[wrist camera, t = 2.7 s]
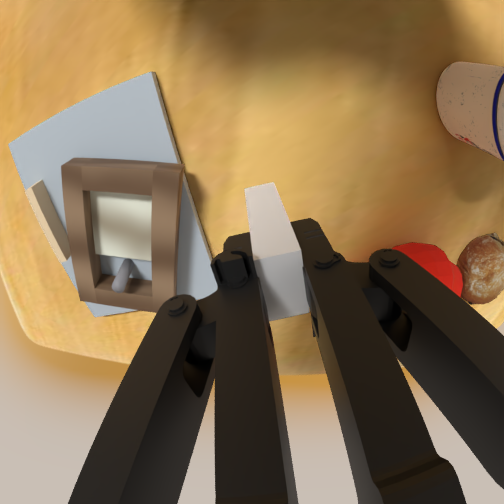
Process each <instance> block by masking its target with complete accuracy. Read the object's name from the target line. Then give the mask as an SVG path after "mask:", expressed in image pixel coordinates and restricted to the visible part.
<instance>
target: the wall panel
mask: <svg viewBox="0 0 504 504" xmlns="http://www.w3.org/2000/svg"><path fill="white" fill-rule="evenodd" d="M8 145H9V148H10V151H11V154H12V156H13V159H14V162H15V165H16V167H17V170H18V173H19V175H20V178H21V180H22V183H23V185H24V188H25V193H26V195H27V198H28V200H29V202H30V205H31V207H32V209H33V211H34V213H35V216H36V218H37V220H38V222H39V224H40V226H41V228H42V230H43V232H44V234H45V236H46V238H47V240H48V242H49V244H50V246H51V248H52V249H53V251H54V253H55V255H56V257H57V259H58V260H59V262H60V263H61V264H62V265H63V267H64V269H65V271H66V272H67V274H68V276H69V277H70V279H71V281H72V282H73V284H74V286H75V287H76V289H77V291H78V288H77V284H76V279H75V274H74V269H73V264H72V259H71V253H70V247H69V241H68V234H67V227H66V220H65V211H64V202H63V191H62V177H61V165H63V164H65V163H66V162H68V161H69V160H71V159H72V158H105V159H125V160H140V161H154V162H166V163H177V164H181V161H180V157H179V154H178V151H177V148H176V144H175V141H174V137H173V134H172V131H171V127H170V124H169V121H168V117H167V114H166V110H165V107H164V103H163V100H162V96H161V92H160V89H159V85H158V81H157V78H156V74H155V72H149V73H146V74H143V75H140V76H138V77H135V78H133V79H130V80H128V81H125V82H123V83H120V84H118V85H115V86H113V87H111V88H108V89H106V90H104V91H102V92H99V93H97V94H95V95H93V96H91V97H89V98H87V99H85V100H83V101H81V102H79V103H77V104H75V105H73V106H71V107H69V108H67V109H65V110H63V111H61V112H60V113H58V114H56V115H54V116H52V117H51V118H49V119H47V120H46V121H44V122H42V123H40V124H39V125H37V126H35V127H34V128H32V129H31V130H29V131H27V132H26V133H24V134H23V135H21V136H20V137H18V138H17V139H15V140H14V141H12V142H11V143H9V144H8ZM212 260H213V259H212V256H211V253H210V250H209V247H208V244H207V241H206V238H205V235H204V232H203V229H202V226H201V223H200V220H199V217H198V214H197V211H196V208H195V205H194V202H193V199H192V196H191V193H190V189H189V186H188V183H187V180H186V177H185V174H183V185H182V197H181V210H180V225H179V243H178V265H177V295H181V294H188V295H191V296H193V297H195V299H196V300H198V299H202V298H205V297H207V296H209V295H211V294H212V293H214V292H215V291H216V290H217V283H216V280H215V277H214V274H213V272H212V269H211V266H210V264H211V261H212ZM100 262H101V270H102V274H107V275H114V276H116V277H115V279H114V281H113V284H112V289H113V290H114V291H115V292H117V293H122V292H123V291H124V289H125V286H126V284H127V281H128V279H129V278H137V279H144V280H152V265H151V261H148V260H140V259H131V258H123V257H116V256H108V255H100ZM84 302H85V301H84ZM85 303H86V305H87V306H88V308H89V309H90V311H91V312H92V314H93V315H94V317H99V316H106V315H112V314H118V313H124V312H130V311H136V310H134V309H127V308H121V307H114V306H108V305H102V304H96V303H90V302H85Z"/></svg>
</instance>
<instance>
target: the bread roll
mask: <svg viewBox="0 0 504 504" xmlns="http://www.w3.org/2000/svg"><path fill="white" fill-rule="evenodd" d="M456 266H457V267H458V268H459V270H460V272H461V274H462V282H463V287H462V292H461V297H462V298H463V299H465V300H466V301H468V303H469V304H471V305H472V304H485V303H489V302H491V301H492V300H494V299H495V298H496V297H497V296H498V295H499V294H500V293H501V291H502V290H503V289H504V242H503V241H502V240H500V239H499V237H498V235H497V234H496V233H493V234H488V235H484V236H481V237H477V238H475V239H474V240H472V241H471V242H470V243H469V244H468V245H467V246H466V248H465V249H464V250H463V252H462V253H461V255H460V257H459V259H458V261H457V265H456Z"/></svg>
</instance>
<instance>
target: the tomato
mask: <svg viewBox="0 0 504 504" xmlns="http://www.w3.org/2000/svg"><path fill="white" fill-rule="evenodd" d="M392 249H395V250H399V251H401V252H403V253H404V254H406V255H407V256H408V257H410V258H411V259H412V260H414V261H415V262H416V263H418V264H419V265H420V266H422V267H423V268H424V269H425V270H427V271H428V272H429V273H431V274H432V275H433V276H434V277H436V278H437V279H438V280H439V281H441V282H442V283H443V284H444V285H446V286H447V287H448V288H449V289H451V290H452V291H453V292H454V293H456V294H457V295H458V296H459V297H461V292H462V287H463V282H462V274H461V272H460V270H459V268H458V267H457V266H456V265H454V264H453V263H452V262H450V261H449V259H448V258H447V256H446V254H445V253H444V251H442V250H441V249H440V248H438V247H437V246H435V245H430V244H423V243H413V242H412V243H408V244H403V245H399V246H395V247H393V248H392Z"/></svg>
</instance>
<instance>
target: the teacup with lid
mask: <svg viewBox="0 0 504 504" xmlns="http://www.w3.org/2000/svg"><path fill="white" fill-rule="evenodd" d="M436 101H437V108H438V112H439V116H440V118H441V121H442V123H443V125H444V126H445V128H446V129H447V130H448V132H449V133H450V134H451V135H452V136H454V137H455V138H457V139H459V140H461V141H463V142H465V143H468V144H470V145H472V146H474V147H476V148H479V149H481V150H483V151H485V152H487V153H489V154H491V155H493V156H495V157H497V158H499V159H501V160H503V161H504V67H502V66H495V65H488V64H480V63H471V62H455V63H452V64H451V65H449V66H448V67H447V68H446V69H445V70H444V71H443V72H442V74H441V76H440V78H439V81H438V85H437V92H436Z"/></svg>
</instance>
